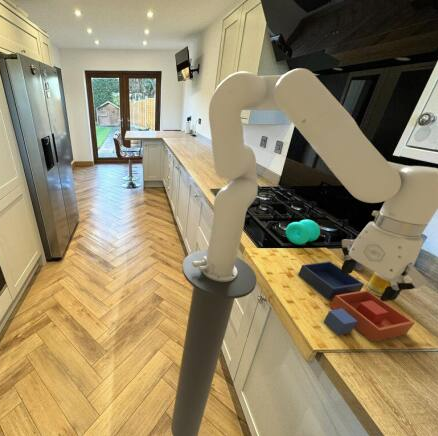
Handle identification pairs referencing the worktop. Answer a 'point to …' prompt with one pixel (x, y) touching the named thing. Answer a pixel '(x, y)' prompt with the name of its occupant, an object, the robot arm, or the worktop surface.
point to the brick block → (372, 311)
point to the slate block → (340, 321)
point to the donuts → (302, 231)
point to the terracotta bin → (388, 328)
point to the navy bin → (329, 279)
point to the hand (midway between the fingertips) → (364, 285)
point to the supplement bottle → (378, 284)
